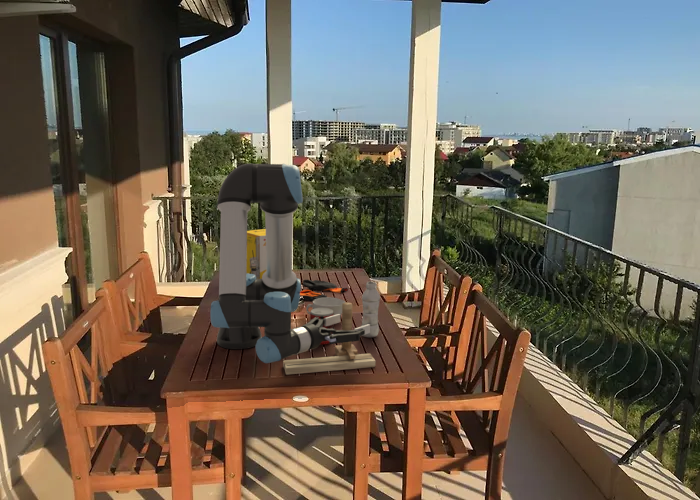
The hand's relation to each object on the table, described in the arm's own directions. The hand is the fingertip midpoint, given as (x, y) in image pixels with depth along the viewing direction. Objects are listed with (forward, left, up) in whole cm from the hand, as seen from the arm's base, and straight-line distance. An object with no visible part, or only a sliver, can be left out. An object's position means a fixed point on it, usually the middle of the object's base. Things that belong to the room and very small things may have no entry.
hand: (354, 323), depth 174 cm
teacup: (-35, -2, -11) cm, 37 cm away
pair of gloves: (-76, +1, -11) cm, 77 cm away
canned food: (-14, -8, -11) cm, 19 cm away
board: (+8, -10, -11) cm, 17 cm away
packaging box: (-98, -19, -11) cm, 100 cm away
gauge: (+4, -3, -11) cm, 12 cm away
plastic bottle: (-15, +10, -11) cm, 21 cm away
